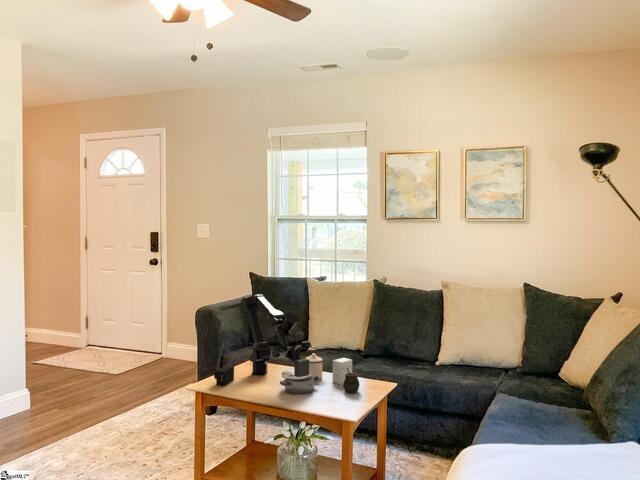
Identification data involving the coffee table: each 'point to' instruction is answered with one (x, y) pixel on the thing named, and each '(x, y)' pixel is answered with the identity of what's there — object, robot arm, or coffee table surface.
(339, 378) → the small box
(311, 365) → the teacup with lid
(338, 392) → the coffee table surface
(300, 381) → the pot
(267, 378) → the coffee table surface
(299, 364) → the lid
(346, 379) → the mate gourd
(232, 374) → the digital camera
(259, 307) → the robot arm
